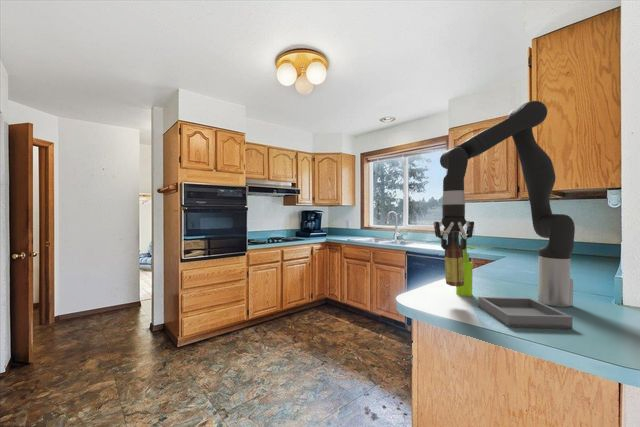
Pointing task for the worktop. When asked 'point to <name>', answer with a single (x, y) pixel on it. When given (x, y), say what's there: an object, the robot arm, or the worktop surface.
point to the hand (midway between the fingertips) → (453, 249)
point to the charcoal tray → (524, 313)
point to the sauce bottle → (454, 261)
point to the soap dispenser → (466, 275)
